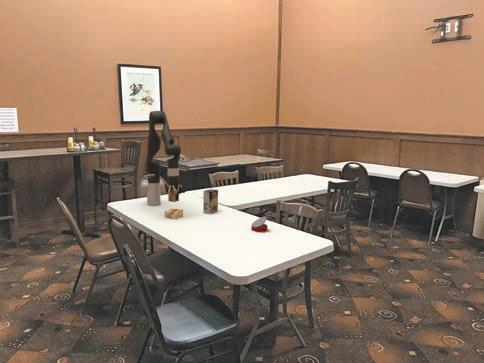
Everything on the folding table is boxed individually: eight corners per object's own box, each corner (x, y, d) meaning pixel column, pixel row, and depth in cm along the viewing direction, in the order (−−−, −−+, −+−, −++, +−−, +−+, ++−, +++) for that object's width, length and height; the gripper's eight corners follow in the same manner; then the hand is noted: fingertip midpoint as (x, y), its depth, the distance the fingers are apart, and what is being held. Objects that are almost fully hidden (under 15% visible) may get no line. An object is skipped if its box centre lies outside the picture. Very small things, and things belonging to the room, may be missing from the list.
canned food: (264, 239, 247) (264, 227, 240) (249, 235, 250) (248, 224, 244) (270, 226, 255) (270, 215, 249) (255, 223, 258) (254, 211, 252)
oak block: (164, 218, 274) (164, 211, 273) (171, 215, 282) (171, 208, 282) (176, 219, 271) (176, 212, 270) (183, 216, 279) (183, 209, 279)
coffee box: (210, 214, 285) (210, 191, 283) (203, 213, 289) (203, 190, 286) (218, 211, 293) (218, 189, 290) (211, 210, 296) (211, 188, 294)
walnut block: (168, 201, 274) (168, 192, 273) (173, 199, 278) (172, 191, 277) (174, 202, 271) (174, 193, 270) (179, 200, 276) (178, 192, 275)
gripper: (161, 174, 272) (161, 199, 275) (178, 176, 265) (178, 201, 268) (168, 173, 278) (168, 197, 281) (185, 174, 272) (185, 199, 274)
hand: (173, 199), depth 275 cm, fingers closed on walnut block, 5 cm apart
